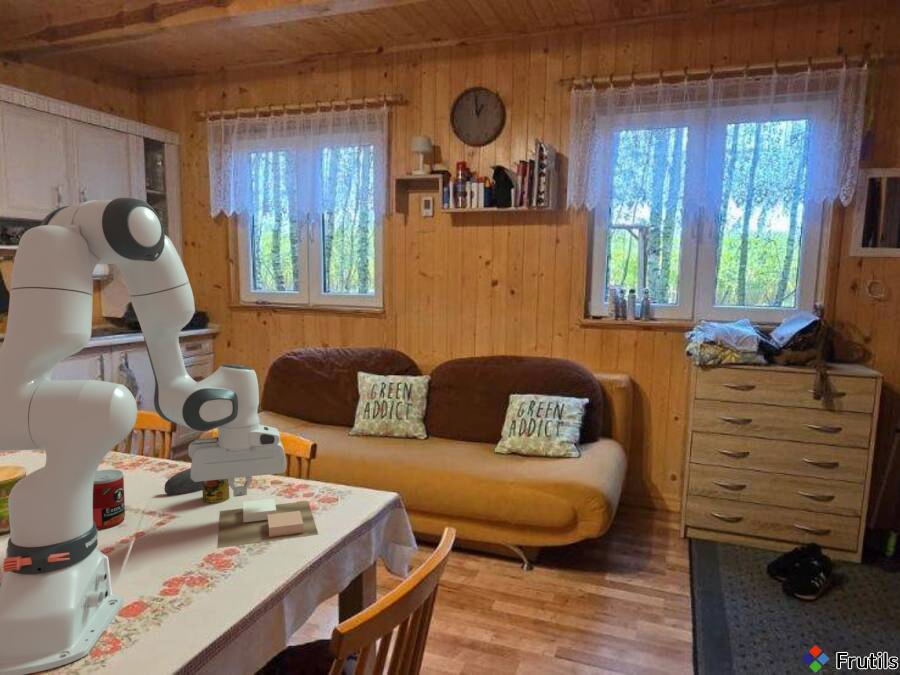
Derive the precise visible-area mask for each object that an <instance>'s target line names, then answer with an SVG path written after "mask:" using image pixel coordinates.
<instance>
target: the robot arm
mask: <svg viewBox="0 0 900 675" xmlns="http://www.w3.org/2000/svg"><path fill="white" fill-rule="evenodd" d="M163 224H164V223H163V222H162V220H161V217H160V215H159V214H158V212H156V210H155V208H153V207H152V206H151V205H150V204H149V203H148V202H146V201H145V200H142V199H139V198H133V197H117V198H115V199H103V200H102V199H101V200H96V199H95V200H88V201H84V202H79V203H76V204H73V205H65V206H62V207H61V206H60V207H59V208H57V209H55V210H53V211H51V212H50V213H48V214H47V215H46V216H45V217H44V218H43V220H42V221H41V223H40V225H38V226H34V227H32V228H29V229H28V230H26V231H24V233H23V234H22V236H21V237H20V239H19V243H18V245H17V248H16V252H15V254H14V255H15V257H14V260H13V266H12V271H11V278H10V286H9V288H10V289H9V290H10V291H9V301H8V302H9V303H8V314H7V322H6V327H5V328H6V329H5V335H4V338H3V343H2V346H1V347H0V452H5V451H9V452H10V451H15V452H16V451H38V450H39V451H40V450H41V451H45V456H46V457H45V458H46V459H45V465H44V466H43V467H40V468H38V469H37V470H34V471H33V472H31V473H29V474H27V475H26V476H24V477H22V478H21V479H20V480H18V481H17V482H16V483H15V484H14V486H13V487H12V488H11V490H10V492H9V495H8V498H7V503H8V517H9V518H8V519H9V532H10V533H9V534H10V536H9V538H8V540H7V547H6V549H5V550H6V552H5V559H4V560H3V563H2V566H3V567H2V569H3V570H2V572H1V573H2V578H1V583H0V675H28V674H33V673H39V672H42V671H47V670H51V669H54V668H58V667H61V666H64V665H67V664H70V663H72V662H75V661H77V660H79V659H81V658H83V657H85V656H87V654H88V653H89V652H90V651H91V649H92V648H93V646H94V645H95V644H96V643H97V641H98V639H99V638H100V637H101V635H102V634H103V632H104V631H105V630H106V628H107V627H108V626H109V624H110V623H111V621H112V620H113V618H114V617H115V615H116V614H117V613H118V611H119V610H120V608H121V607H122V605H124V604H123V603H124V598H123V595H120V594H118V593H113V590H112V588H113V587H112V580H111V579H112V578H111V570H110V561H109V557H108V556H106V554H104V553H103V552H102V551H100V550H99V548H98V547H97V546H98V543H99V542H98V536H99V535H98V534H99V533H98V529H97V528H96V523H95V522H94V521H93V484H94V478H95V475H96V472H97V471H98V469H99V467H100V464H101V463H102V461H103V460H104V458H105V457H106V456H107V455H108V454H109V452H110V451H112V450H113V448H115V447H116V446H117V445H118V444H120V443H121V442H123V441H124V440H125V439H127V437H128V436H129V435H130V434H131V432H132V430H134V427H135V425H136V422H137V419H138V406H137V405H138V404H137V401H136V399H135V397H134V395H133V393H132V391H130V390H129V388H128V387H127V386H126V385H124V384H120V383H115V382H112V381H111V382H110V381H105V380H100V379H99V380H97V379H52V375H53V372H54V370H55V368H56V367H57V365H59V363H60V362H61V361H62V360H64V359H66V358H68V357H70V356H72V355H75V354H78V353H79V352H80V351H81V350H83V349H84V348H86V346H87V344H88V343H89V342H90V340H91V337H92V325H93V324H92V322H93V304H94V303H93V298H94V297H93V296H94V279H93V278H94V277H93V276H94V274H93V273H94V270H95V268H96V266H97V265H101V264H102V265H115V266H116V267H117V268H118V269H119V271H120V272H121V273H122V275H123V281H124V283H125V288H126V291H127V293H128V296H129V298H130V303H131V306H132V308H133V310H134V313H135V316H136V319H137V320H138V322H139V326H140V328H141V329H140V330H141V332H142V336H143V340H144V343H145V344H144V345H145V347H146V351H147V355H148V358H149V362H150V365H151V366H150V367H151V369H152V373H153V376H154V393H153V394H154V395H153V397H154V398H153V406H154V408H155V411H156V413H157V415H158V416H159V417H160V418H161V419H162V420H164V421H166V422H170V423H173V424H177V425H180V426H182V427H184V428H188V429H191V430H192V431H199V432H207V431H209V430H213V429H217V437H207V438H196V439H195V440H193V441H191V442H190V443H189V445H188V450H187V451H188V458H190V459H191V464H190V465H191V466H190V468H191V479H192V480H193V481H194V482H200V481H210V480H220V479H228V484H229V488H230V489H231V490H232V492H233V493H232V495H233V498H234V497H244V496H248V488H249V487H250V485H251V483H252V480H253V477H258V476H267V475H268V476H270V475H277V474H278V475H279V474H283V473H285V471H286V470H287V459H286V458H287V457H286V453H285V448H284V445H283V443H282V441H281V434H280V432H279V429H277V428H276V427H273V426H268V425H264V424H260V417H259V414H258V408H259V404H260V392H259V391H260V390H259V382H258V381H259V380H258V376H257V373H256V371H255V369H253V368H252V367H250V366H247V365H240V364H233V363H226V364H225V363H224V364H220V366H219V367H218V369H216V371H214V372H213V373H211V374H210V375H208V376H207V377H206V378H204V379H202V380H200V381H196V380H194V379H193V378H192V377H191V376H190V374H189V373H188V372H187V369H186V364H185V361H184V357H183V353H182V349H181V345H180V339H179V338H180V337H179V336H180V333H181V331H182V329H183V328H185V327H186V326H187V325H188V324H189V323H190V321H191V320H192V319H193V316H194V314H195V312H196V307H195V297H194V294H193V289H192V286H191V283H190V280H189V277H188V275H187V274H188V273H187V271H186V269H185V266H184V263H183V262H182V259H181V256H180V255H179V253H178V251H177V248H176V247H175V246H174V243H173V242H172V240H171V239H170V237H168V236H167V235H166V234H165V228H164V225H163ZM240 478H245V483H244V484H243V485H241V486H239V485H236V484H235V479H240Z"/></svg>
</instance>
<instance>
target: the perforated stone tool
mask: <svg viewBox="0 0 900 675" xmlns="http://www.w3.org/2000/svg"><path fill="white" fill-rule="evenodd" d="M202 490H203V489H202V481H200V482H194V481H193V480H192V479H191V467H189V468H188V469H185V470H182V471H179V472H177V473H176V474H174V475H173V476H171V477H170V478H168V479H167V481H166V482H165V484H164V490H163V491H164V493H165V494H166V495H168V496H175V495H184V494H189V493H194V492H195V493H196V492H198V491H199V492H200V491H202Z"/></svg>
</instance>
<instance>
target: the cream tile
mask: <svg viewBox="0 0 900 675" xmlns="http://www.w3.org/2000/svg"><path fill="white" fill-rule="evenodd" d="M275 505H276V501H275V498H269V499H267V498H266V499H257V500H249V501H248V500H247V501H243V502H242V508H243V523H244V522H252V521H260V520H267V515H269V514H276V506H275Z"/></svg>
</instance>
